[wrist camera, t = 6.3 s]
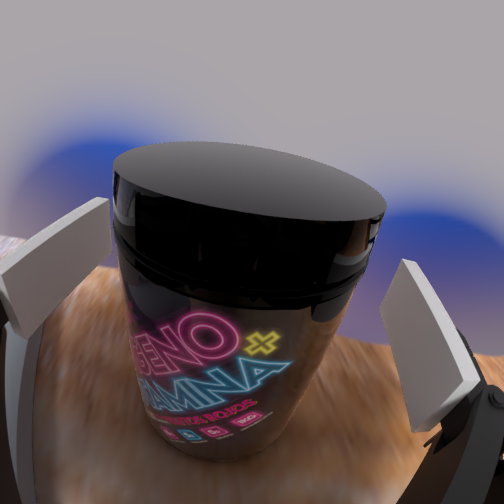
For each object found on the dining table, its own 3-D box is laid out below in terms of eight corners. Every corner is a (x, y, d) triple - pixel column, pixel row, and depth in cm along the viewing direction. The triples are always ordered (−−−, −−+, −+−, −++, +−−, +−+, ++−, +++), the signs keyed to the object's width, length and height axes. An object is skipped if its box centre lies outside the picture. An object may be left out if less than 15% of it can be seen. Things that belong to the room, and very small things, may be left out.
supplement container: (138, 353, 13) (125, 138, 8) (259, 341, 16) (305, 152, 11) (155, 476, 8) (80, 221, 3) (311, 444, 10) (442, 228, 5)
